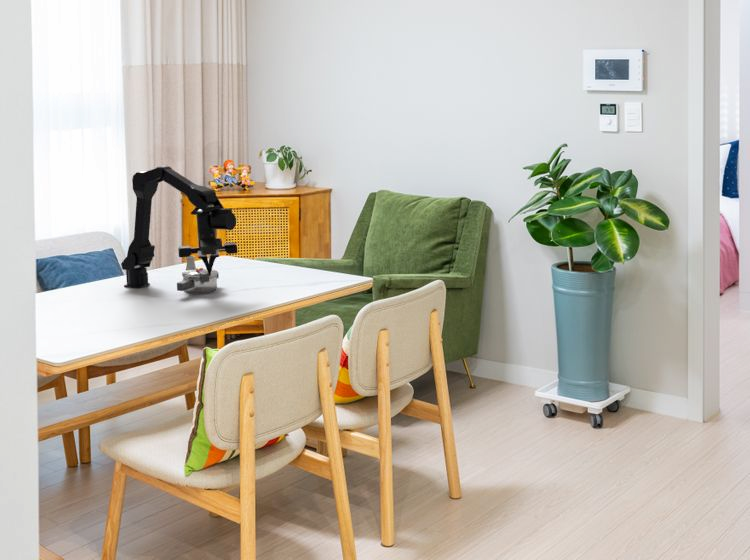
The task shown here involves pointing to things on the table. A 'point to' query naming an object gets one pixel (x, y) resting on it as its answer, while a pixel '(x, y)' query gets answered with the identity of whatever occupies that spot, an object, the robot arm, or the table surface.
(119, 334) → the table surface
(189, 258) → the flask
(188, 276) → the lid
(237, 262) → the table surface
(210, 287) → the pot
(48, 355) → the table surface
